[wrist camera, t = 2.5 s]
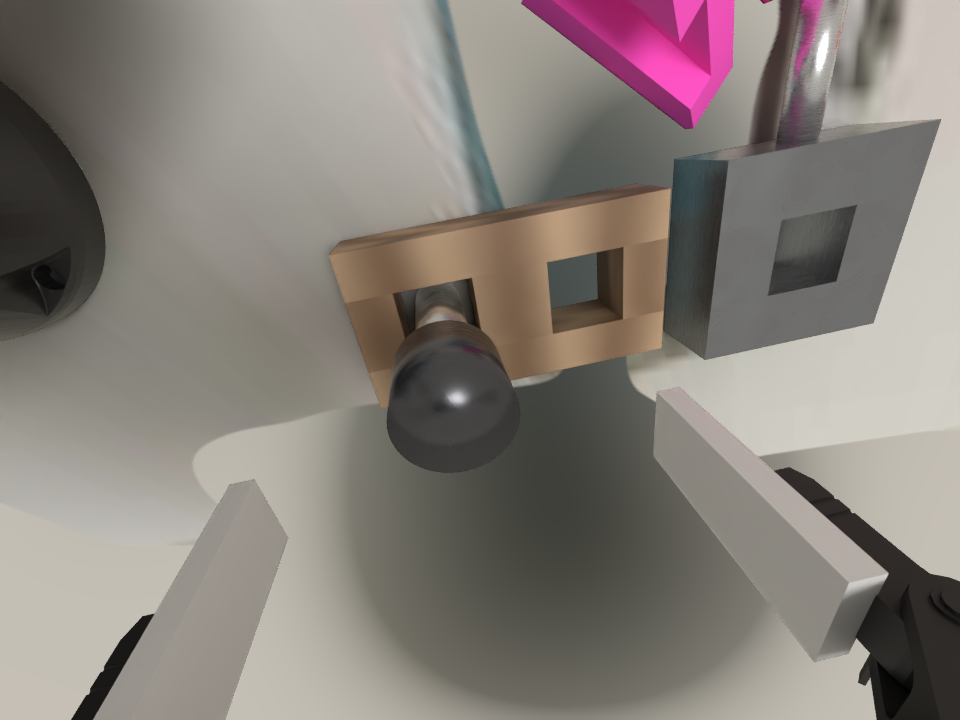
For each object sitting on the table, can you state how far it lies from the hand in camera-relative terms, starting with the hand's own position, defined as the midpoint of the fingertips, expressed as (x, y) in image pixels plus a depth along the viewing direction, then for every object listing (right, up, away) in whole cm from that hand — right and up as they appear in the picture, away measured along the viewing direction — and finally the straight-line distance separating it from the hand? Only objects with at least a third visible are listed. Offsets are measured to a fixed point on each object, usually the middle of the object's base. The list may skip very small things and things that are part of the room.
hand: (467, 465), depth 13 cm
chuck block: (+19, +16, +13) cm, 28 cm away
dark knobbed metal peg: (-2, +8, +14) cm, 16 cm away
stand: (+2, +8, +14) cm, 17 cm away
